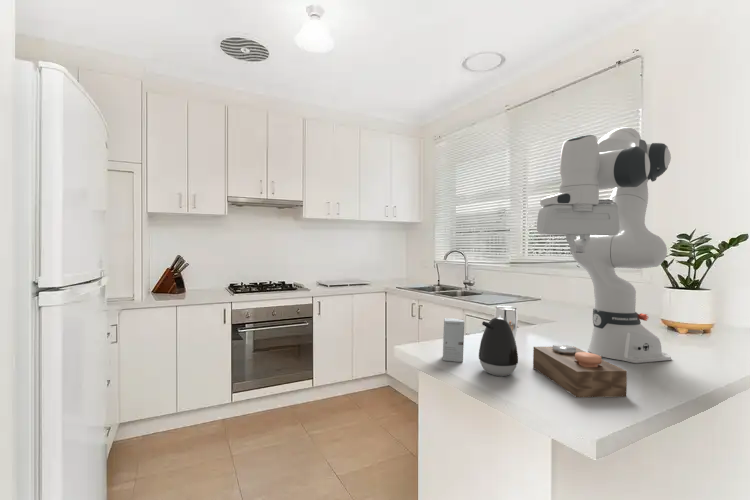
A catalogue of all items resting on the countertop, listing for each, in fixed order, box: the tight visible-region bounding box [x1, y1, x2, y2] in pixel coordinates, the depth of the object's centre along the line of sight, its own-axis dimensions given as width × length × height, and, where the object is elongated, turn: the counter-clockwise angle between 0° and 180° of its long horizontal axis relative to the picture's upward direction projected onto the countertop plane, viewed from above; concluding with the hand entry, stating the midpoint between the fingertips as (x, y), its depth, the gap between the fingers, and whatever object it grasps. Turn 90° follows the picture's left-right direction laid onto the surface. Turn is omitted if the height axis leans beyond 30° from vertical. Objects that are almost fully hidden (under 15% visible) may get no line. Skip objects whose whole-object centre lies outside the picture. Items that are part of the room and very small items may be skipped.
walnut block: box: [532, 345, 628, 398], centre depth 93 cm, size 12×20×6 cm, turn 3°
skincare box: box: [442, 317, 465, 363], centre depth 109 cm, size 6×4×12 cm
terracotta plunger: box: [575, 351, 603, 367], centre depth 88 cm, size 6×6×5 cm
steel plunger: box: [552, 344, 577, 355], centre depth 98 cm, size 6×6×5 cm
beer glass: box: [493, 305, 519, 339], centre depth 114 cm, size 7×7×15 cm
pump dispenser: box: [478, 317, 519, 377], centre depth 98 cm, size 10×10×15 cm
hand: (577, 252), depth 92 cm, fingers closed
